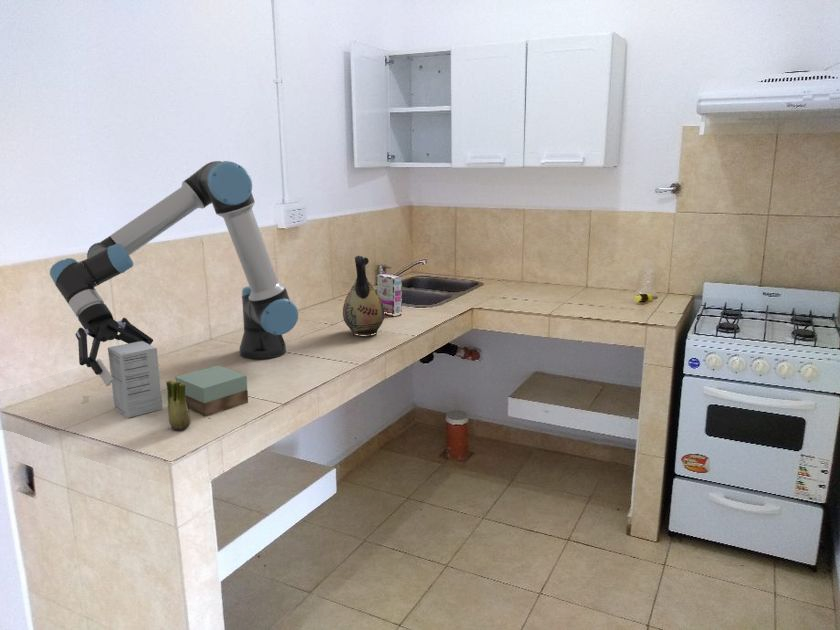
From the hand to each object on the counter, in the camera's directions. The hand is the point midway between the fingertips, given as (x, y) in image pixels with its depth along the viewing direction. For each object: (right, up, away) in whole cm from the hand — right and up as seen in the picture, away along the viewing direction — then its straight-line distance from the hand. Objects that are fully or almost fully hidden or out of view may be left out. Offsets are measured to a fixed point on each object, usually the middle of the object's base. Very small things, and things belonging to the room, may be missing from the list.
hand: (134, 375), depth 166 cm
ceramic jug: (+52, +8, +75) cm, 92 cm away
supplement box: (0, -9, +3) cm, 10 cm away
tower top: (+18, -5, +7) cm, 20 cm away
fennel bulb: (+15, -12, -8) cm, 21 cm away
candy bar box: (+61, +16, +107) cm, 124 cm away
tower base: (+18, -9, +7) cm, 21 cm away
